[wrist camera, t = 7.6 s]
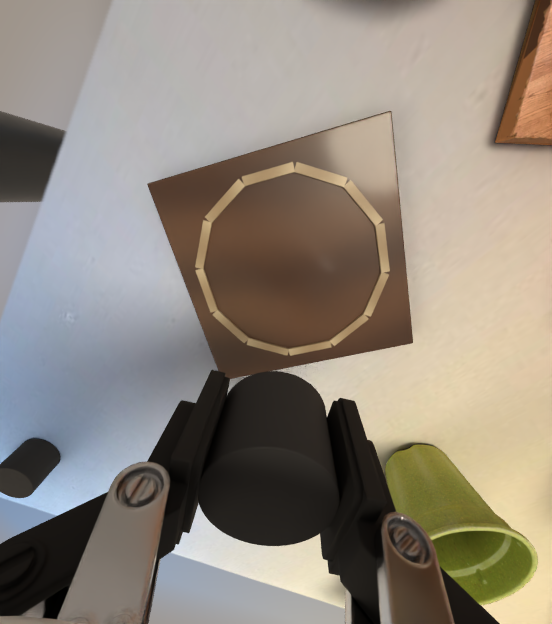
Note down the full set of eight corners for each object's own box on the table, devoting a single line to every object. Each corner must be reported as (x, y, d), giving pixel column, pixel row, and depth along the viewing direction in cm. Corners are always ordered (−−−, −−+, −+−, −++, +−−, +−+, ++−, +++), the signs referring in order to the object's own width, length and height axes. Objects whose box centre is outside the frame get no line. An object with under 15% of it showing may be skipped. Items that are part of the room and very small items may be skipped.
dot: (283, 351, 10) (279, 422, 7) (345, 423, 11) (368, 513, 8) (202, 405, 11) (167, 489, 8) (266, 466, 12) (258, 562, 9)
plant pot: (387, 419, 26) (431, 517, 18) (484, 440, 27) (568, 544, 19) (355, 488, 30) (379, 595, 22) (440, 505, 30) (495, 617, 22)
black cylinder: (14, 441, 30) (-19, 471, 26) (48, 435, 29) (17, 465, 26) (35, 469, 31) (5, 500, 28) (67, 463, 31) (41, 495, 27)
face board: (153, 184, 20) (145, 183, 19) (386, 114, 18) (392, 109, 17) (224, 374, 26) (221, 382, 24) (408, 337, 23) (414, 344, 22)
